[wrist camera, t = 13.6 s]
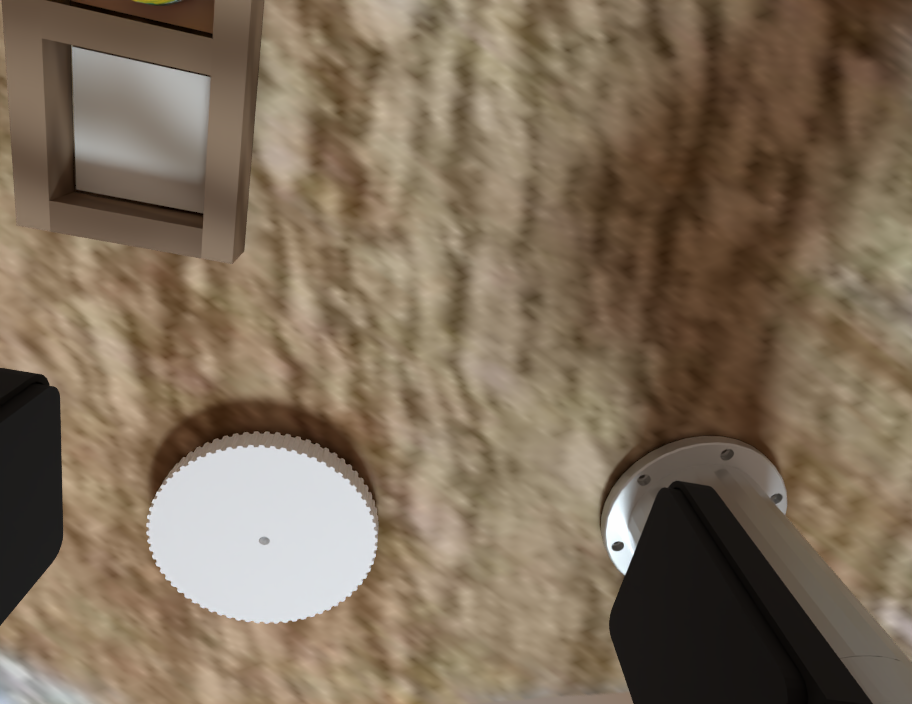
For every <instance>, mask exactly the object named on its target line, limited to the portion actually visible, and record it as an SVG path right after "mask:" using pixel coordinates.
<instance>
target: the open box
mask: <svg viewBox="0 0 912 704" xmlns="http://www.w3.org/2000/svg"><path fill="white" fill-rule="evenodd" d="M71 1H74V2H78V3H83V4H87V5H91V6H96V7H100V8H104V9H109V10H113V11H117V12H122V13H126V14H130V15H135V16H139V17H143V18H147V19H152V20H156V21H160V22H165V23H169V24H173V25H178V26H182V27H186V28H191V29H195V30H199V31H204V32H208V33H212V34H213V38H209V37H205V36H201V35H196V34H192V33H187V32H183V31H179V30H174V29H170V28H166V27H161V26H157V25H153V24H148V23H144V22H140V21H135V20H131V19H127V18H122V17H118V16H114V15H109V14H105V13H101V12H96V11H92V10H88V9H83V8H79V7H75V6H70V1H69V0H2V12H3V27H4V42H5V57H6V72H7V87H8V102H9V117H10V133H11V148H12V163H13V178H14V193H15V208H16V223H17V226H22V227H28V228H34V229H39V230H45V231H50V232H56V233H62V234H67V235H73V236H78V237H84V238H90V239H95V240H101V241H107V242H112V243H118V244H123V245H129V246H135V247H140V248H146V249H151V250H157V251H163V252H168V253H174V254H179V255H185V256H191V257H196V258H202V259H208V260H213V261H219V262H224V263H230V264H233V263H234V261H235V260H236V259H237V258H238V257H239V256H240V255H241V254H242V253H243V252H244V247H245V234H246V222H247V209H248V197H249V184H250V172H251V159H252V147H253V134H254V122H255V109H256V96H257V84H258V71H259V59H260V46H261V34H262V21H263V9H264V0H183V1H181V2H179V3H176V4H173V5H168V6H154V5H148V4H144V3H140V2H135V1H132V0H71ZM71 45H75V46H79V47H84V48H88V49H93V50H97V51H102V52H106V53H111V54H115V55H120V56H124V57H129V58H134V59H138V60H143V61H147V62H152V63H156V64H161V65H165V66H170V67H174V68H179V69H183V70H188V71H192V72H197V73H201V74H206V75H210V76H211V77H209V76H204V75H200V74H195V73H191V72H186V71H182V70H177V69H173V68H168V67H164V66H159V65H155V64H150V63H146V62H141V61H136V60H132V59H127V58H123V57H118V56H114V55H109V54H105V53H100V52H96V51H91V50H87V49H82V48H78V47H72V58H73V94H74V130H75V166H76V190H82V191H87V192H92V193H98V194H103V195H108V196H114V197H119V198H124V199H129V200H135V201H140V202H145V203H151V204H156V205H161V206H167V207H172V208H177V209H182V210H188V211H193V212H198V213H204V215H203V216H202V215H197V214H191V213H186V212H181V211H175V210H170V209H165V208H159V207H154V206H149V205H143V204H138V203H133V202H128V201H122V200H117V199H112V198H106V197H101V196H96V195H90V194H85V193H80V192H75V177H74V141H73V106H72V71H71Z"/></svg>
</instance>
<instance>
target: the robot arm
mask: <svg viewBox="0 0 912 704" xmlns="http://www.w3.org/2000/svg"><path fill="white" fill-rule="evenodd" d="M786 509H787V491H786V488H785V484H784V481H783V478H782V476H781V475H780V473H779V472H778V470H777V469H776V467H775V466H774V465H773V464H772V463H771V462H770V461H769V459H768V458H767V457H766V456H765V455H764V454H763V453H761V452H760V451H758V450H757V449H756V448H754V447H753V446H751V445H749V444H747V443H744V442H742V441H739V440H737V439H732V438H727V437H722V436H699V437H692V438H685V439H682V440H679V441H675V442H672V443H669V444H666V445H664V446H662V447H660V448H658V449H656V450H654V451H652V452H650V453H648V454H647V455H645V456H644V457H643V458H641V459H640V460H638V461H637V462H635V463H634V464H633V465H632V466H631V467H630V468H629V469H628V470H627V471H626V472H625V473H624V474H623V475H622V476H621V477H620V478H619V480H618V481H617V482H616V484H615V485H614V486H613V488H612V489H611V491H610V493H609V496H608V498H607V500H606V502H605V504H604V508H603V512H602V516H601V534H602V538H603V543H604V546H605V548H606V550H607V553H608V555H609V558H610V559H611V561H612V562H613V564H614V565H615V567H616V568H617V569H618V570H619V571H620V572H621V573H622V574H623V575H624V576H625V577H624V580H623V582H622V585H621V587H620V590H619V592H618V595H617V597H616V600H615V602H614V605H613V608H612V610H611V614H610V620H609V629H610V635H611V638H612V641H613V644H614V647H615V650H616V653H617V656H618V659H619V662H620V665H621V668H622V671H623V674H624V677H625V680H626V683H627V686H628V688H629V691H630V694H631V697H632V700H633V703H634V704H912V662H911V660H910V659H909V658H908V657H907V656H906V655H905V653H904V652H903V651H902V650H901V649H900V648H899V646H898V645H897V644H896V643H895V642H894V641H893V640H892V638H891V637H890V636H889V635H888V634H887V633H886V631H885V630H884V629H883V628H882V627H881V626H880V624H879V623H878V622H877V621H876V620H875V619H874V618H873V616H872V615H871V614H870V613H869V612H868V611H867V609H866V608H865V607H864V606H863V605H862V604H861V603H860V601H859V600H858V599H857V598H856V597H855V596H854V594H853V593H852V592H851V591H850V590H849V589H848V587H847V586H846V585H845V584H844V583H843V582H842V581H841V579H840V578H839V577H838V576H837V575H836V574H835V572H834V571H833V570H832V569H831V568H830V567H829V565H828V564H827V563H826V562H825V561H824V560H823V559H822V557H821V556H820V555H819V554H818V553H817V552H816V550H815V549H814V548H813V547H812V546H811V545H810V544H809V542H808V541H807V540H806V539H805V538H804V537H803V535H802V534H801V533H800V532H799V531H798V530H797V528H796V527H795V526H794V525H793V524H792V523H791V522H790V520H789V519H788V518H787V517H786V516H785V515H786ZM62 540H63V506H62V462H61V419H60V394H59V391H58V389H57V388H56V387H53V386H49V382H48V380H47V378H46V377H45V376H44V375H41V374H35V373H29V372H23V371H17V370H11V369H5V368H0V625H1V624H2V623H3V622H4V620H5V619H6V618H7V617H8V616H9V614H10V613H11V612H12V611H13V610H14V608H15V607H16V606H17V605H18V603H19V602H20V601H21V600H22V599H23V597H24V596H25V595H26V594H27V593H28V591H29V590H30V589H31V588H32V587H33V585H34V584H35V583H36V582H37V580H38V579H39V578H40V577H41V576H42V574H43V573H44V572H45V571H46V570H47V568H48V567H49V566H50V565H51V564H52V562H53V561H54V559H55V558H56V556H57V554H58V552H59V550H60V547H61V544H62Z"/></svg>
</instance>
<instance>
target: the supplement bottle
mask: <svg viewBox="0 0 912 704" xmlns="http://www.w3.org/2000/svg"><path fill="white" fill-rule="evenodd" d="M132 1H135V2H140V3H144V4H148V5H154V6H168V5H173V4H176V3H179V2H181V1H183V0H132Z"/></svg>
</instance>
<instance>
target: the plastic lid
mask: <svg viewBox="0 0 912 704" xmlns="http://www.w3.org/2000/svg"><path fill="white" fill-rule="evenodd" d="M149 511H150V513H149V514H148V517H147V519H149V521H148V522H147V527H149V528H148V530H147V535H149V538H148V543H150V544H151V545H150V547H149V549H150V551H153V555H152V557H153V559H156V560H157V561H156V563H155V564H156V565H157V566H159V567H160V568H161V569H160V572H161V573H162V574H165V575H166V576H165V579H166V580H170V581H171V582H172V583H171V585H172V586H173V587H177V588H178V590H177V591H178V592H179V593H184V594H185V596H184V597H186V598H187V599H188V598H190V599H192V602H193V603H195V604H196V603H198V604H200V607H202V608H205V607H206V608H208V609H209V611H210V612H213V611H215V612H217V614H218V615H226V617H227V618H231V617H234V618H236V620H239V621H240V620H241V619H243V620H245V622H250V621H254V622H255V623H260V622H264V623H265V624H268V623H269V622H274V623H279V621H283V622H284V623H287V622H288V621H289V620H292V621H293V622H294V621H297V619H300V618H301V619H302V620H303V619H306V617H308V616H310V617H314V616H315V614H317V613H318V614H322V613H323V611H324V610H330V609H331V607H332V606H337V605H338V604H339V602H340V601H342V602H343V601H345V599H346V597H347V596H349V597H350V596H351V595H352V591H356V590H357V589H358V585H361V584H362V583H363V578H364V579H366V577H367V572H370V570H371V565H373V563H374V557H375V556H376V550H377V540H378V515H377V508H376V507H375V501H374V500H372V493H371V492H368V486H367V485H364V480H363V478H359V477H358V472H357V471H353V470H352V466H351V465H350V464H348V465H347V464H346V463H345V460H344V459H343V458H341V459H339V458H338V457H337V454H336V453H330V452H329V449H328V448H326V447H325V448H324V449H323V448H321V447H320V444H318V443H316V444H312V443H311V441H310V440H308V439H306V440H305V441H304V440H301V437H298V436H296V437H295V438H294V437H291V435H290V434H286V435H285V436H284V435H281V434H280V433H278V432H275V434H270V432H267V431H265V432H264V434H260V433H259V431H254V433H253V434H249V433H248V432H244V433H243V435H239V434H238V433H236V434H233V436H232V437H229V436H223V438H222V439H221V440H219V439H218V438H217V439H214V440H213V442H212V443H209V442H207V443H205V444H204V446H203V447H200V446H199V447H197V448H196V449H195V451H194V452H192V451H191V452H189V453H188V455H187V456H186V457H183V458H182V459H181V460H180V462H179V463H177V464H176V465H175V466H174V468H173V469H172V470H171V471H170V472H169V474H168V475H167V477H166V478H165V480H164V481H163V483H162V485H161V486H160V488H159V490H158V491H157V493H156V495H155V497H154V499H153V501H152V505H151V506H150V509H149Z"/></svg>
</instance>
